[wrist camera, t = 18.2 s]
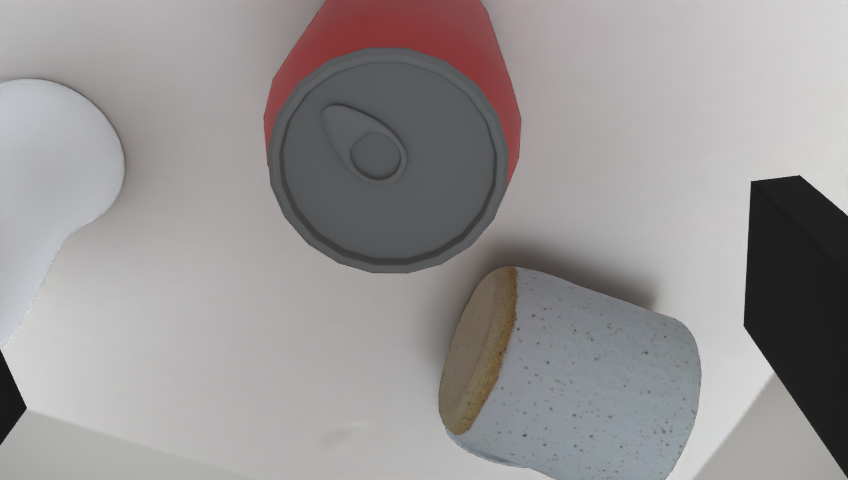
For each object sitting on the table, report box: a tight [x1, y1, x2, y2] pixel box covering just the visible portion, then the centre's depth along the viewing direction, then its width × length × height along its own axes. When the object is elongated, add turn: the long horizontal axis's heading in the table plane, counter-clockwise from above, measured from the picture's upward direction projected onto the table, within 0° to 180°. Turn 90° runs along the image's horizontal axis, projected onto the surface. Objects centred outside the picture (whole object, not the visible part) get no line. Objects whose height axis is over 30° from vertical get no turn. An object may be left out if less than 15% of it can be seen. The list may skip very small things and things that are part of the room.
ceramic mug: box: [439, 266, 701, 480], centre depth 31 cm, size 11×8×8 cm
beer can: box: [264, 0, 521, 273], centre depth 23 cm, size 7×7×12 cm
